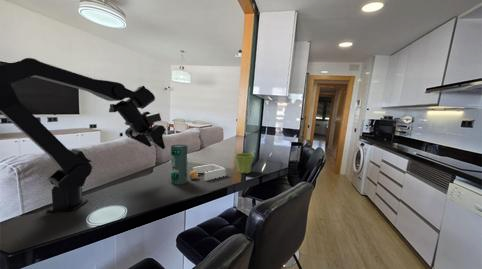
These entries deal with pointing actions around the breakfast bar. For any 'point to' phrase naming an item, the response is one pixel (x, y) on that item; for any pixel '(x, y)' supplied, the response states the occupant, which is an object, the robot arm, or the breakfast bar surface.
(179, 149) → the can
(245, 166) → the plant pot
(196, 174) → the ball
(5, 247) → the breakfast bar surface
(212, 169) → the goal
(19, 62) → the robot arm
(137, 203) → the breakfast bar surface
